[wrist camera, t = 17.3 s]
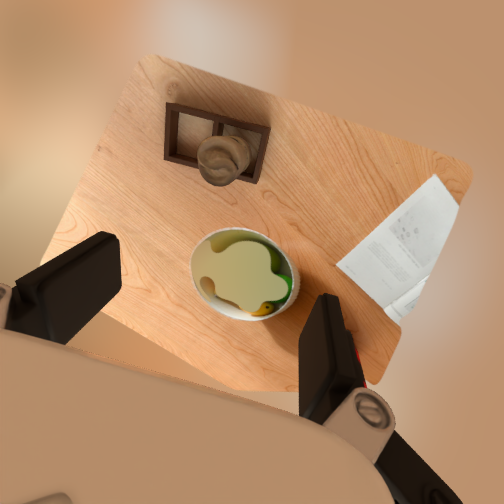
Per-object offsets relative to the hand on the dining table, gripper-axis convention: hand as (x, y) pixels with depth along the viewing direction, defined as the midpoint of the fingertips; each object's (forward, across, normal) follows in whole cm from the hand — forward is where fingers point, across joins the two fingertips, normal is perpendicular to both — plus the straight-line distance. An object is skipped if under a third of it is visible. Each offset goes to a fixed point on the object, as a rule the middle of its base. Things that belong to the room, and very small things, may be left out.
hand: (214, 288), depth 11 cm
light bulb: (+34, +6, -1) cm, 35 cm away
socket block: (+34, +10, -1) cm, 36 cm away
